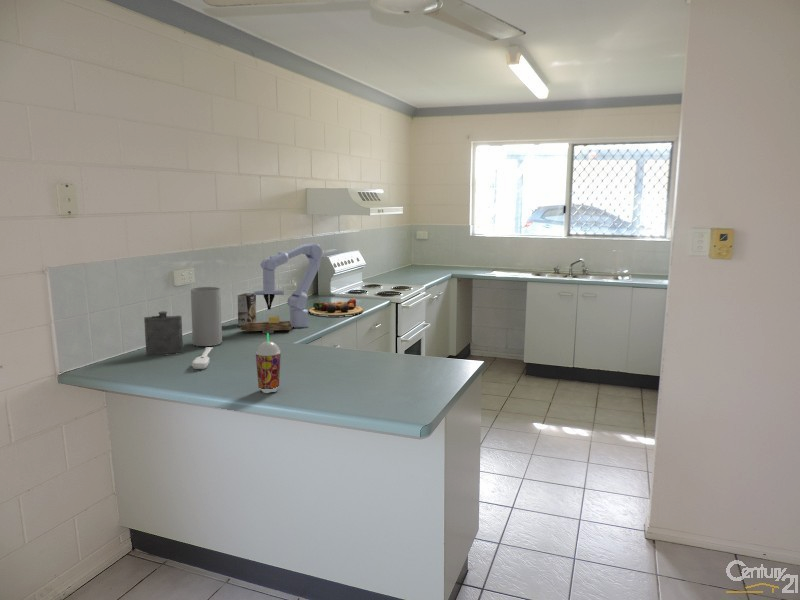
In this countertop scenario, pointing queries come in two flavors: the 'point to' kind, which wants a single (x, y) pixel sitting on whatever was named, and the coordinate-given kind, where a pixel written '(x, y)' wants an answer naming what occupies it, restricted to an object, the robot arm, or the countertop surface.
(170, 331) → the flask
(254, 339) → the countertop surface
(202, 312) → the cylinder vase
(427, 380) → the countertop surface
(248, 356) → the countertop surface
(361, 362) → the countertop surface
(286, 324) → the brown wooden tray
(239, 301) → the coffee box
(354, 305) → the wooden plate with food
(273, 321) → the block
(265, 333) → the fulcrum
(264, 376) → the smoothie
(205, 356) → the spatula
